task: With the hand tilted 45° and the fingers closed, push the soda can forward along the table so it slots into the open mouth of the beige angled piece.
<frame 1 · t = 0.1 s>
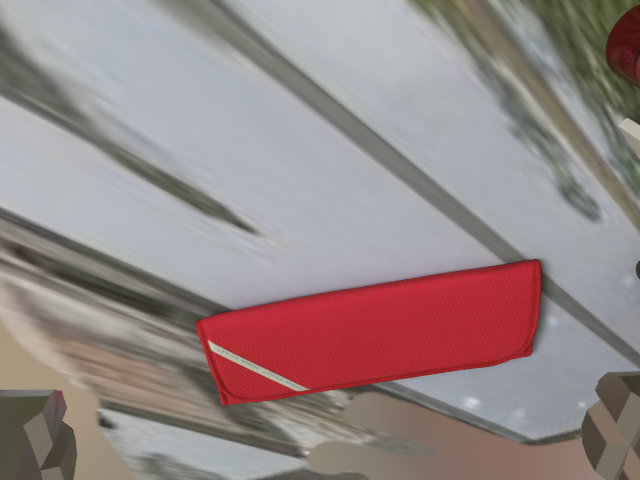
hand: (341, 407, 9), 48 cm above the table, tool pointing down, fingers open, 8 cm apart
dish drying mat: (370, 327, 72), on the table
soda can: (638, 39, 55), on the table
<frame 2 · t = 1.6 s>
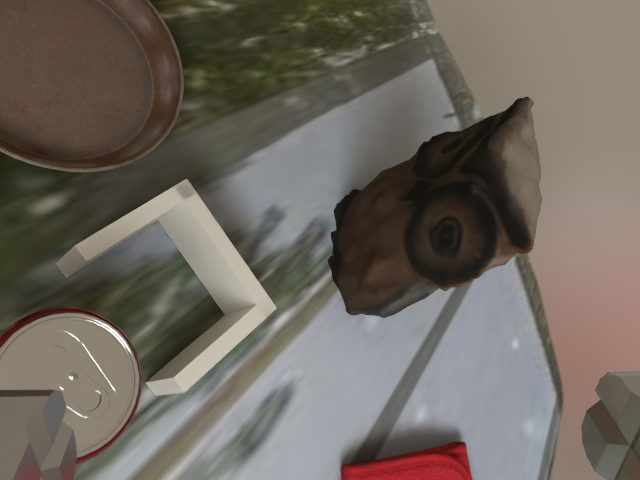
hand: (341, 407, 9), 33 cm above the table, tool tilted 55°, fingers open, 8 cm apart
soda can: (19, 395, 35), on the table
beige angled piece: (151, 297, 42), on the table
plant saucer: (54, 72, 42), on the table
brown irregular lump: (372, 259, 56), on the table
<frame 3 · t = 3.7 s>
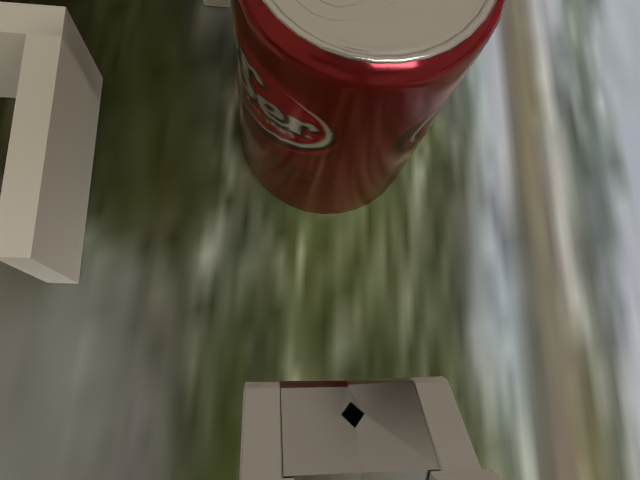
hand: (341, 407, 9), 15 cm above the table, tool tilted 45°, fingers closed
soda can: (322, 142, 26), on the table
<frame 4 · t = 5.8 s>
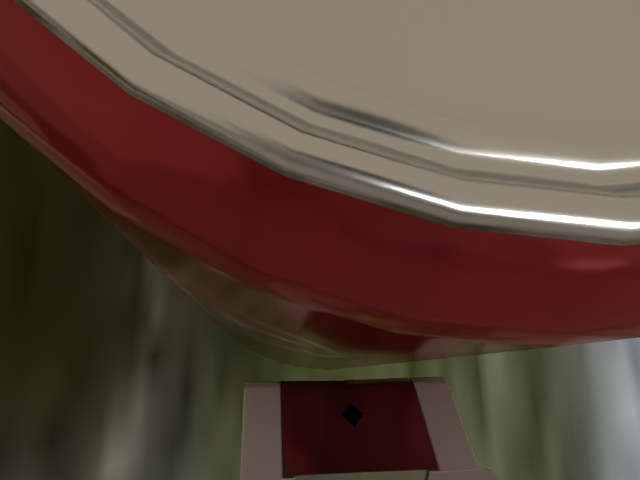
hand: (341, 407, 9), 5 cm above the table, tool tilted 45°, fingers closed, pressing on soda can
soda can: (322, 225, 15), on the table, touching gripper
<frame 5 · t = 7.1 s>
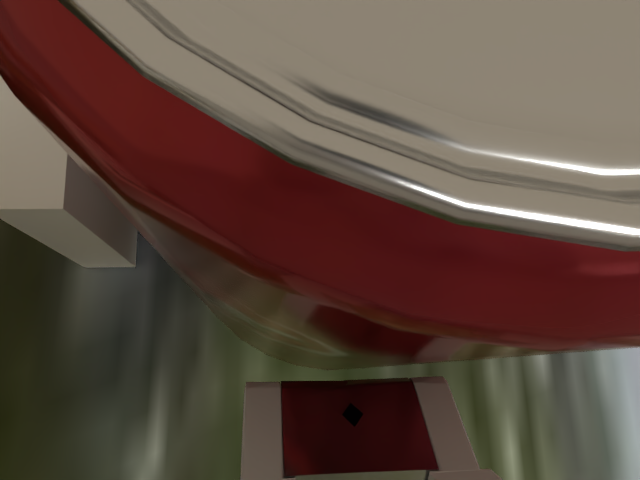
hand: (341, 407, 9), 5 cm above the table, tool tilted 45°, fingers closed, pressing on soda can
soda can: (329, 226, 15), on the table, touching gripper
beige angled piece: (316, 117, 15), on the table
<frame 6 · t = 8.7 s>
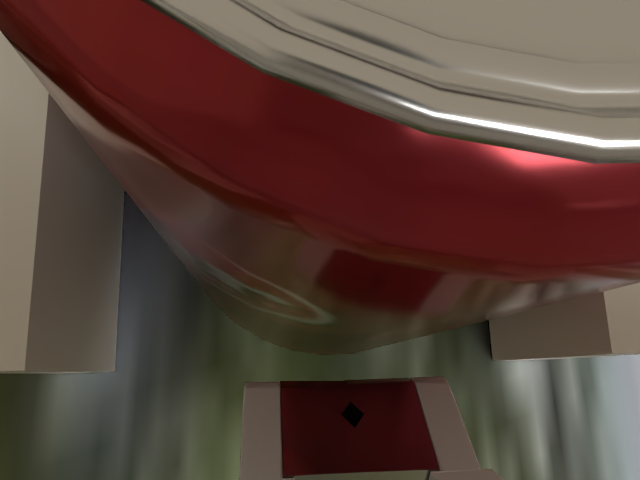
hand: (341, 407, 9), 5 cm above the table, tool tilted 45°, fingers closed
soda can: (325, 212, 15), on the table
beige angled piece: (305, 205, 14), on the table
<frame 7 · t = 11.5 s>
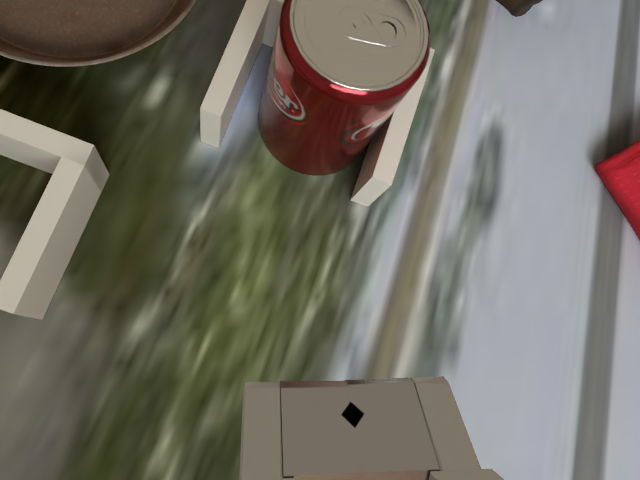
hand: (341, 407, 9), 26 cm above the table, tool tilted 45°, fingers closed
soda can: (311, 127, 38), on the table
beige angled piece: (305, 120, 37), on the table
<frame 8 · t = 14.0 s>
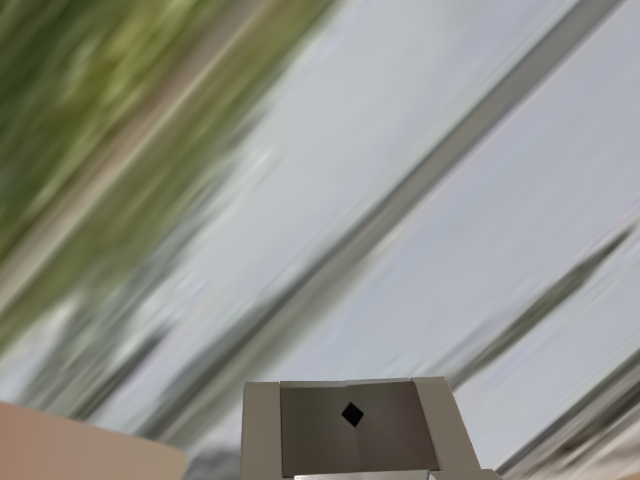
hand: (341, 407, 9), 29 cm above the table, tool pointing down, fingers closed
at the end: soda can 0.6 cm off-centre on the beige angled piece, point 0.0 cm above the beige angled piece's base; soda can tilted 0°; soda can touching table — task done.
